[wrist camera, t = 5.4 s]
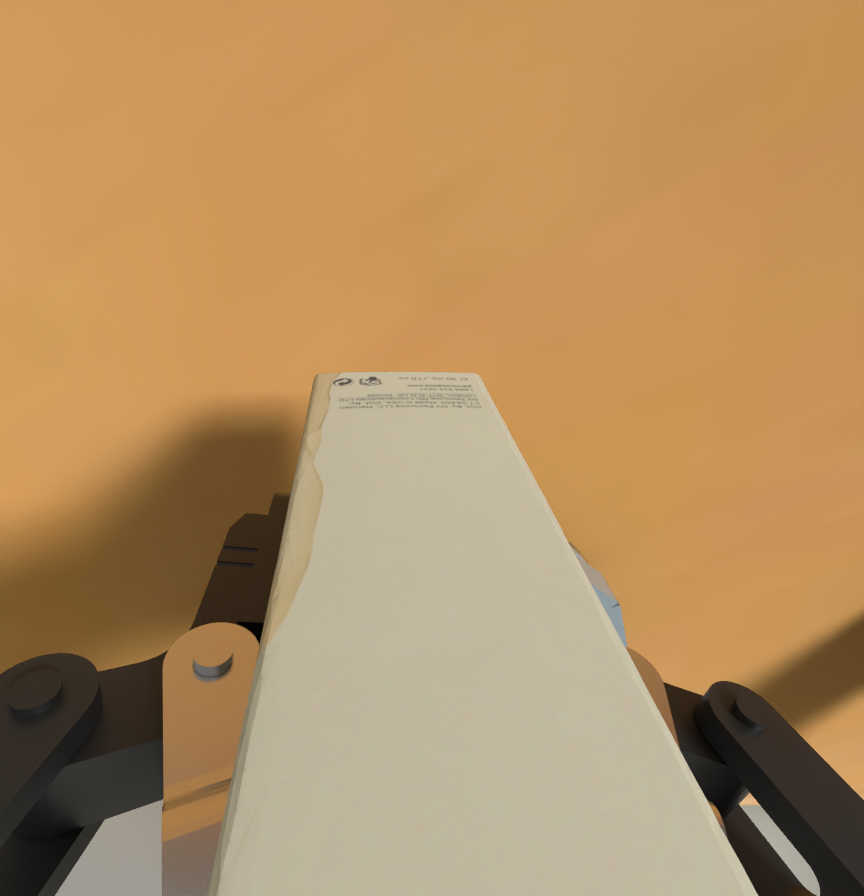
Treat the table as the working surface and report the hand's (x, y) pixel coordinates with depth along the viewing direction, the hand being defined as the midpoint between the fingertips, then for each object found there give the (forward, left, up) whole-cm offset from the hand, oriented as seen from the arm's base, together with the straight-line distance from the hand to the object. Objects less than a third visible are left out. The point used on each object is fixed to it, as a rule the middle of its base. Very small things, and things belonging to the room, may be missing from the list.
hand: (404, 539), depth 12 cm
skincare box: (0, 0, -3) cm, 3 cm away
